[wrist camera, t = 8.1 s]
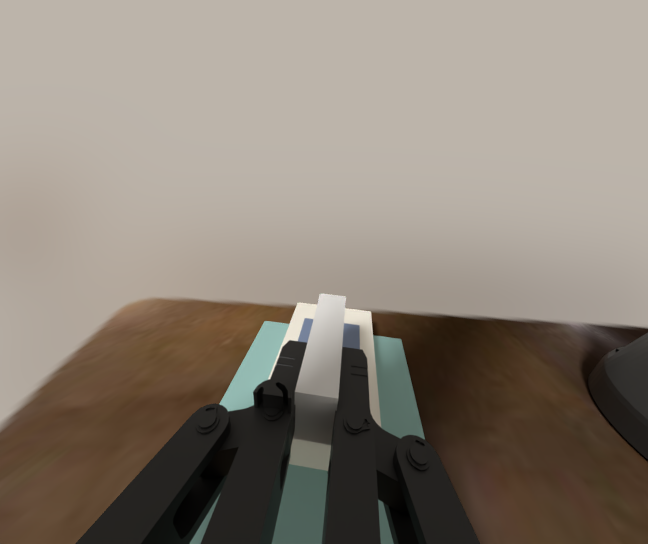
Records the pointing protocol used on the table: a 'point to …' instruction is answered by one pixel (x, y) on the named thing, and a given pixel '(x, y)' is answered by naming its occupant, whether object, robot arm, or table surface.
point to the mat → (308, 483)
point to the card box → (354, 336)
